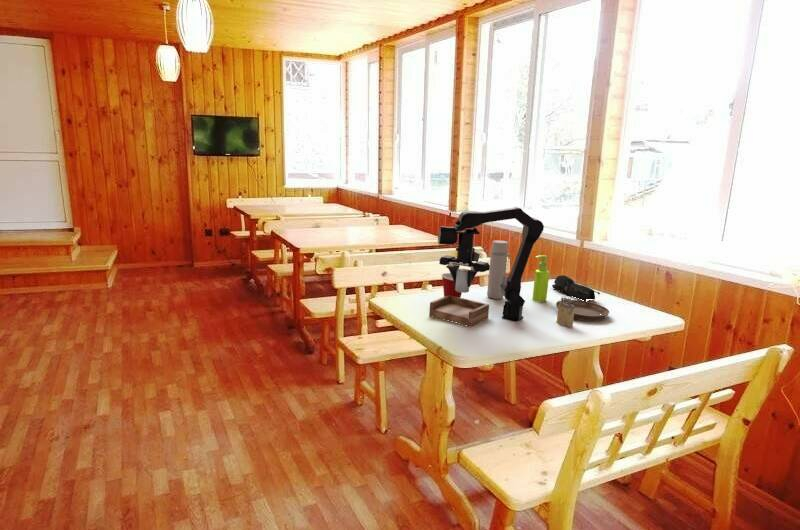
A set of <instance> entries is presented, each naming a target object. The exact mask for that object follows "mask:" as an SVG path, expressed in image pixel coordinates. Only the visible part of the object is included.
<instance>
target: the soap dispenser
mask: <svg viewBox="0 0 800 530" xmlns="http://www.w3.org/2000/svg"><path fill="white" fill-rule="evenodd" d="M534 257H535V258H537V259H540V258H541V261H540V262H538V269H536V270H535V271H534V273H535V274H534V282H533V290H532V301H534V300H535V301H534V302H538V301H540V302H539V303H543V302H544V301H545V302H547V296H548V288H549V287H548V286H549V279H550V270H548V263H547V258H549V256H547V255H543V254H540V255H536V256H534ZM542 301H543V302H542Z"/></svg>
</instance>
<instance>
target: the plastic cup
mask: <svg viewBox="0 0 800 530" xmlns="http://www.w3.org/2000/svg"><path fill="white" fill-rule="evenodd" d="M441 277H442V285H443V287H442V288H443V289H442V290H443V297H445V296H448V295H451V296H455V297H459V298H462V292H457V291H455V287H456V284H455V283H454V280H453V278H452V275H451V273H450V272H445V273H441Z"/></svg>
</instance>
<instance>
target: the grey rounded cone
mask: <svg viewBox="0 0 800 530" xmlns="http://www.w3.org/2000/svg"><path fill="white" fill-rule="evenodd" d="M468 270H469V268H468V269H467V268H459V269H457V273H456V287H455V291H457V292H462V293H466V294H467V293H469V292H470V287H468Z"/></svg>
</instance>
